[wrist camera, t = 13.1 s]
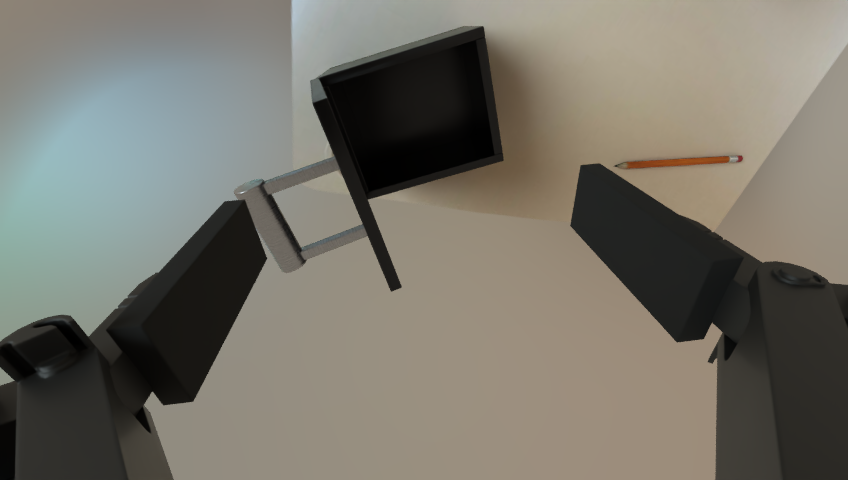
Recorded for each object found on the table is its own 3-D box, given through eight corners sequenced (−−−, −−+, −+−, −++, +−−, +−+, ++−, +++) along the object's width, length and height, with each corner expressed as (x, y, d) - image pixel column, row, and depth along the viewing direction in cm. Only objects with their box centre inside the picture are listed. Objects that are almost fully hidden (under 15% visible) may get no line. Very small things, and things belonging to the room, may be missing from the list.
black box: (464, 26, 39) (483, 25, 31) (483, 137, 46) (504, 160, 38) (329, 68, 40) (315, 78, 32) (368, 171, 47) (363, 201, 39)
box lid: (327, 97, 18) (185, 145, 17) (401, 287, 24) (303, 328, 23) (318, 77, 32) (241, 103, 31) (367, 201, 38) (304, 224, 37)
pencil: (736, 160, 51) (741, 162, 50) (610, 168, 50) (614, 170, 49) (738, 154, 50) (744, 156, 50) (612, 162, 49) (615, 164, 48)
